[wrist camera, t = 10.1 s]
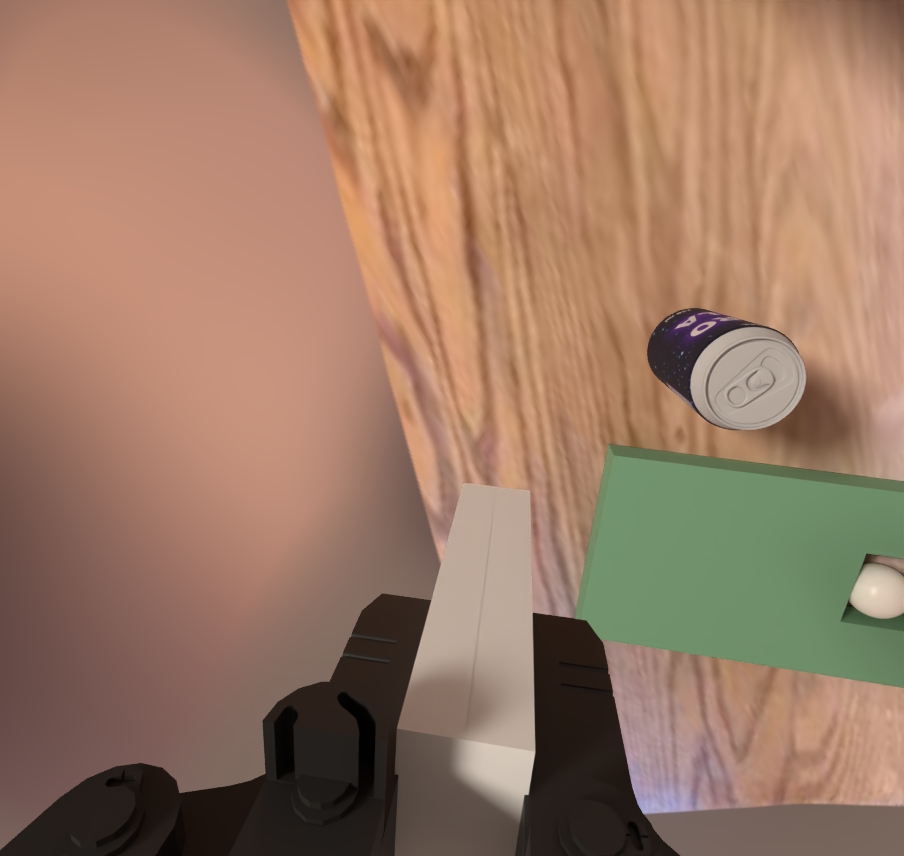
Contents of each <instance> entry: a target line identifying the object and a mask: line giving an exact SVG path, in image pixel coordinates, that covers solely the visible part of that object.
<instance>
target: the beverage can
mask: <svg viewBox="0 0 904 856" xmlns="http://www.w3.org/2000/svg"><path fill="white" fill-rule="evenodd" d="M647 356H648V362H649V365H650V368H651V370H652V371H653V373H654V374H655V375H656V377H657V378H658V379H659V380H661V381H662V382H663V383H664V384H665V385H666V386H667V387H668V388H670V389H671V390H672V391H673V392H674V393H675V394H676V395H678V396H679V397H680V398H681V399H682V400H683V401H684V402H686V403H687V404H688V405H689V406H690V407H691V408H692V409H693V410H695V411H696V412H697V413H698V414H699V415H700V416H701V417H703V418H704V419H705V420H706V421H708V422H709V423H711V424H713V425H715V426H718V427H721V428H724V429H730V430H757V429H762V428H765V427H768V426H771V425H773V424H775V423H777V422H779V421H781V420H782V419H783V418H785V417H786V416H787V415H788V414H789V413H791V412H792V411H793V409H794V408H795V407H796V406H797V404H798V403H799V401H800V399H801V398H802V395H803V393H804V390H805V386H806V368H805V365H804V362H803V360H802V358H801V356H800V355H799V352H798V350H797V348H796V347H795V345H794V344H793V343H792V341H791V340H790V339H789V338H788V337H786V336H785V335H784V334H782V333H781V332H779V331H777V330H775V329H772V328H769V327H766V326H762V325H759V324H755V323H751V322H748V321H744V320H741V319H737V318H733V317H730V316H726V315H723V314H719V313H716V312H712V311H708V310H705V309H699V308H690V309H684V310H680V311H678V312H675V313H673V314H671V315H670V316H668V317H667V318H665V319H664V320H663V321H662V322H661V323H660V324H659V325H658V326H657V327H656V329H655V330H654V332H653V333H652V335H651V338H650V340H649V344H648V350H647Z"/></svg>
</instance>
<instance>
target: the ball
mask: <svg viewBox="0 0 904 856" xmlns="http://www.w3.org/2000/svg"><path fill="white" fill-rule="evenodd" d="M849 602H850V603H851V604H852V605H853V606H854V607H855V608H856V609H857V610H859V611H860V612H862V613H864V614H866V615H868V616H871V617H874V618H880V619H888V618H894V617H897V616H899V615H901V614H903V613H904V577H903V576H902V575H901V574H900V573H899V572H898V571H896V570H895V569H893V568H891V567H889V566H886V565H883V564H878V563H866V564H862V566H861V569H860V572H859V574H858V577H857V579H856V582H855V584H854V587H853V590H852V592H851V595H850V597H849Z"/></svg>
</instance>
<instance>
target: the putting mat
mask: <svg viewBox="0 0 904 856" xmlns="http://www.w3.org/2000/svg"><path fill="white" fill-rule="evenodd" d="M866 553H867V554H874V555H881V556H889V557H896V558H903V559H904V481H896V480H888V479H880V478H872V477H864V476H856V475H848V474H841V473H833V472H825V471H817V470H809V469H801V468H793V467H785V466H777V465H770V464H762V463H754V462H746V461H738V460H730V459H722V458H714V457H707V456H699V455H691V454H683V453H675V452H667V451H659V450H651V449H644V448H636V447H628V446H620V445H612V444H609V445H608V450H607V455H606V461H605V466H604V471H603V476H602V481H601V486H600V491H599V496H598V501H597V506H596V511H595V516H594V521H593V526H592V532H591V537H590V542H589V547H588V552H587V557H586V562H585V567H584V572H583V577H582V582H581V587H580V592H579V597H578V602H577V608H576V613H575V619H580V620H587V622H588V623H589V625H590V626H591V627H592V629H593V630H594V631H595V633H596V634H597V636H598V637H599V638H600V639H602V640H608V641H615V642H621V643H627V644H633V645H640V646H646V647H652V648H658V649H665V650H671V651H677V652H683V653H690V654H696V655H702V656H708V657H715V658H721V659H727V660H733V661H740V662H746V663H752V664H758V665H765V666H771V667H777V668H783V669H790V670H796V671H802V672H808V673H815V674H821V675H827V676H833V677H840V678H846V679H852V680H858V681H865V682H871V683H877V684H883V685H889V686H896V687H902V688H904V613H903V614H901V615H899V616H897V617H894V618H888V619H880V618H874V617H871V616H868V615H866V614H864V613H862V612H860V611H859V610H857V609H856V608H855V607H854V606H847V603H848V600H849V597H850V595H851V592H852V590H853V587H854V584H855V582H856V579H857V577H858V574H859V572H860V569H861V566H862V564H863V561H864V559H865V556H866Z"/></svg>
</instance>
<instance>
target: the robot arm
mask: <svg viewBox="0 0 904 856" xmlns="http://www.w3.org/2000/svg"><path fill="white" fill-rule="evenodd" d="M263 736H264V752H265V769H266V774H264V775H262V776H260V777H257V778H255V779H253V780H251V781H247V782H244V783H239V784H235V785H231V786H225V787H218V788H212V789H206V790H198V791H192V792H185V793H179V790H178V786H177V781H176V780H175V779H174V778H173V777H172V776H171V775H169V773H168V772H166V771H165V770H164V769H163V768H161V767H156V766H152V765H147V764H143V763H138V764H131V765H124V766H117V767H113V768H111V769H109V770H106V771H104V772H101V773H99V774H97V775H94V776H92V777H89V778H87V779H86V780H84V781H83V782H81V783H80V784H79V785H77V786H76V787H74V788H73V789H71V790H70V791H69V792H67V793H66V794H64V795H63V796H62V797H60V798H59V799H58V800H57V801H56V802H54V803H53V804H52V805H51V806H50V807H49V808H48V809H46V810H45V811H44V812H43V813H42V814H41V815H40V816H38V817H37V818H36V819H35V820H34V821H33V822H32V823H31V824H29V825H28V826H27V827H26V828H25V829H24V830H23V831H21V832H20V833H19V834H18V835H17V836H16V837H15V838H14V839H12V840H11V841H10V842H9V843H8V844H7V845H6V846H5V847H3V848H2V849H1V850H0V856H680V855H679V854H678V853H676V852H675V851H674V850H673V849H672V848H671V847H669V846H668V845H667V844H666V843H665V842H664V841H663V840H662V839H661V838H660V837H659V835H658V834H657V833H656V832H655V831H654V829H653V827H652V825H651V823H650V822H649V821H648V819H647V818H646V817H645V816H644V814H643V813H642V811H641V809H640V808H639V806H638V804H637V801H636V798H635V795H634V791H633V788H632V784H631V779H630V774H629V769H628V764H627V759H626V754H625V749H624V744H623V739H622V734H621V729H620V724H619V719H618V714H617V709H616V704H615V699H614V697H613V689H612V684H611V679H610V674H608V665H607V660H606V655H605V650H604V645H603V642H602V641H601V640H600V638H599V637H598V636H597V634H596V633H595V631H594V630H593V629H592V627H591V626H590V625H589V623H588V622H587V620H580V619H573V618H566V617H559V616H552V615H545V614H538V613H532V565H531V516H530V491H529V490H520V489H512V488H503V487H495V486H486V485H478V484H469V483H463V486H462V489H461V493H460V497H459V500H458V504H457V508H456V512H455V515H454V519H453V523H452V526H451V530H450V534H449V537H448V541H447V545H446V549H445V552H444V556H443V560H442V563H441V567H440V571H439V574H438V578H437V582H436V585H435V589H434V593H433V597H432V600H424V599H417V598H410V597H403V596H396V595H389V594H381V595H380V596H379V597H378V598H376V599H375V600H374V601H373V602H372V603H371V604H369V605H368V606H367V607H366V608H365V609H363V610H362V612H361V614H360V616H359V618H358V621H357V623H356V625H355V627H354V629H353V632H352V636H351V637H350V638H349V640H348V643H347V645H346V647H345V649H344V652H343V656H342V657H341V658H340V660H339V662H338V664H337V667H336V669H335V671H334V673H333V675H332V678H331V680H330V682H319V683H316V684H313V685H309V686H306V687H302V688H299V689H297V690H296V691H294V692H293V693H291V694H289V695H288V696H286V697H285V698H283V699H282V700H280V701H278V702H277V704H276V705H275V706H274V707H273V708H272V710H271V711H270V712H269V713H268V715H267V716H266V717H265V718H264V719H263Z"/></svg>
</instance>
